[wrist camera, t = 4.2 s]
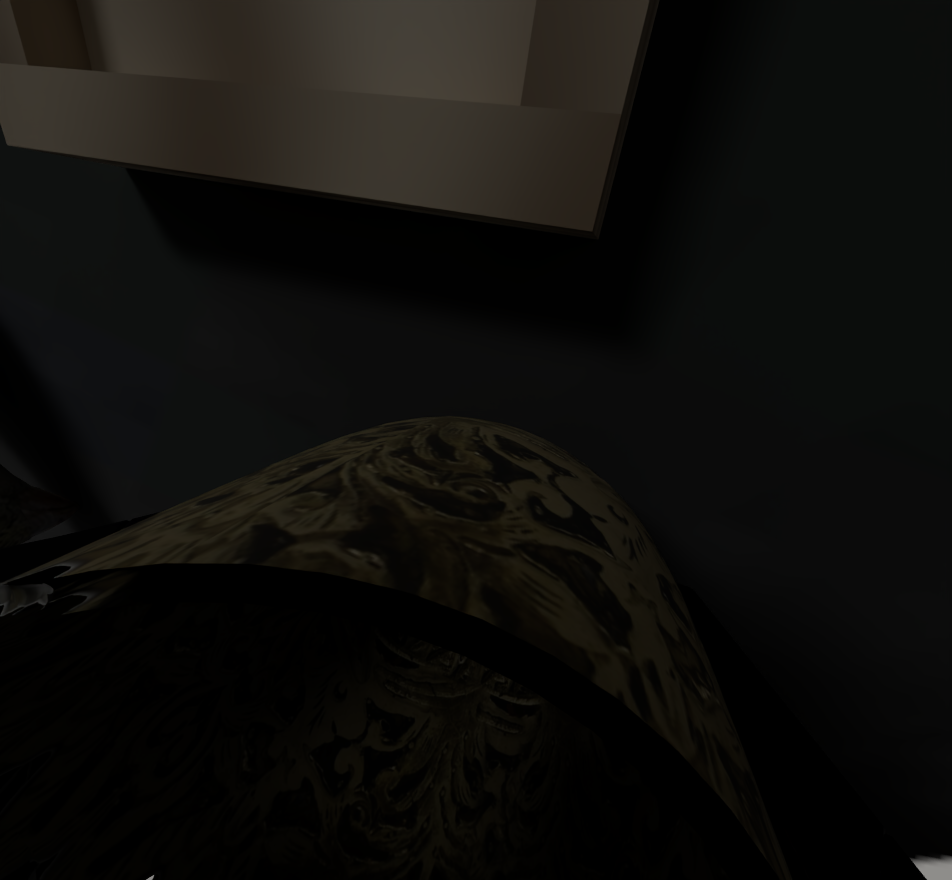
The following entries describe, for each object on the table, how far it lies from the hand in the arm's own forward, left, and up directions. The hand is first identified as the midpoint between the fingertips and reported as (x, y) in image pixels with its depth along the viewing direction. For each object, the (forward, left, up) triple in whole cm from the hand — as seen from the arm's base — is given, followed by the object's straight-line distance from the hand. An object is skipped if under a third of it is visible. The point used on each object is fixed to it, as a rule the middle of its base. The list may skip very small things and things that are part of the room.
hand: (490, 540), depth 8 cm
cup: (0, 0, -2) cm, 2 cm away
